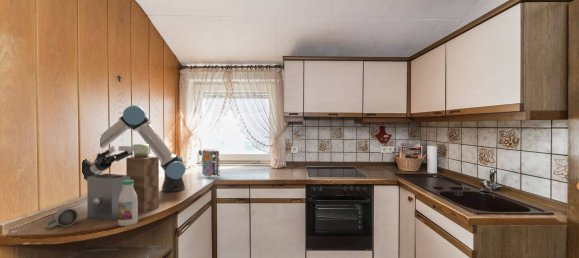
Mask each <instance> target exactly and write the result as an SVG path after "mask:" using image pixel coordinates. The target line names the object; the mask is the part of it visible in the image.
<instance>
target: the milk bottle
mask: <svg viewBox="0 0 579 258" xmlns="http://www.w3.org/2000/svg"><path fill="white" fill-rule="evenodd" d="M122 184H123V185H122V186H123V189H122V192H121V194H120V196H119V202H118V219H117V220H118V225H119V226H121V227H127V226H132V225H133V226H134V225H135V224H137V223H138V221H139V220H138V214H139V212H138V200H137V194H136V192H135V190H134V188H133V185H134V180H124V181H122Z"/></svg>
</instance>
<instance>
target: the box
mask: <svg viewBox="0 0 579 258" xmlns="http://www.w3.org/2000/svg"><path fill="white" fill-rule="evenodd" d="M198 154H199V156H200V157H201V163H202V169H201V170H202V171H201V172H202V173H201V174H202V177H203V178H205V179H206V177H207V179H210V178H211V177H213V179H214V178H215V179H216V178H217V177H220V176H221V175H220V174H221V173H220V171H221V170H220V169H221V168H220V167H221V166H220V165H221V164H220V163H221V162H220V151H219V150H216V149H212V150H211V149H208V148H207V149H202V150H201V149H199V150H198Z"/></svg>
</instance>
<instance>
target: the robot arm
mask: <svg viewBox="0 0 579 258" xmlns="http://www.w3.org/2000/svg"><path fill="white" fill-rule="evenodd" d="M131 129H132V131H134V132H137V133H138V135H140V137H141V138H142V140H143V141H144V142H145V144H149V149H151V151H152V152H153V154H154V156H155V157H159V162H160V164H159V167H161V168H162V170H163V171H164V179H163V183H162V186H161V191H162V192H165V193H174V192H175V193H176V192H180V191H184V190H185V189H186V185H185V183H184V179H183V176H184V174H185V172H186V165H185V164H184V163H183V158H182V156H178V155H177V154H174V153H173V152H172V151H171V150H170V149H169V147H168V146H167V145H166V143H165V142H164V140H163V139H162V138H161V136H160V135H159V134H158V133H157V131H156V129H154V127H153V125H151V119H150V117H149V116H148V115H147V113H146V112H145V109H144V108H142V107H140V106H139V105H134V104H133V105H128V107H126V108H125V109H124V110H123V112H122V115H121V116H120V117H119V118H118V120H117V122H115V123H114V124H113V125H111V126H110V127H108V128H107V129H106V130H105V131H104V132H102V133H103V134H102V133H101V134H102V135H101V134H100V135H101V138H100V147H101V148H102V150H104V149H105V148H106V147H108V146H109V145H110V144H111V143H113V142H114V141H116V139H118V138H119V137H120V136H122V135H123V134H125V132H126V131H128V130H131ZM134 145H135V144H133V145H132V146H134ZM103 148H104V149H103ZM114 152H116V148H115V146H114V145H112V146H111V147H109V148H108V149H107V150H105V151H103V152H99V153H97V154H96V158H95V159H94V161H93V162H91V161H90V160H89V161H88V160H87V159H85V160H83V162H82V173H83V175H84V179H85V180H86V181H87V177H90V176H96V175H101V174H102V173H104V171H106V170H108V169H109V168H111V167H112V164H113V163H115V162H119V161H121V160H124V159H126V158H129V156H132V155H133V153H134V151H121V152H120V153H118V154H116V153H115V154H113V153H114Z"/></svg>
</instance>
